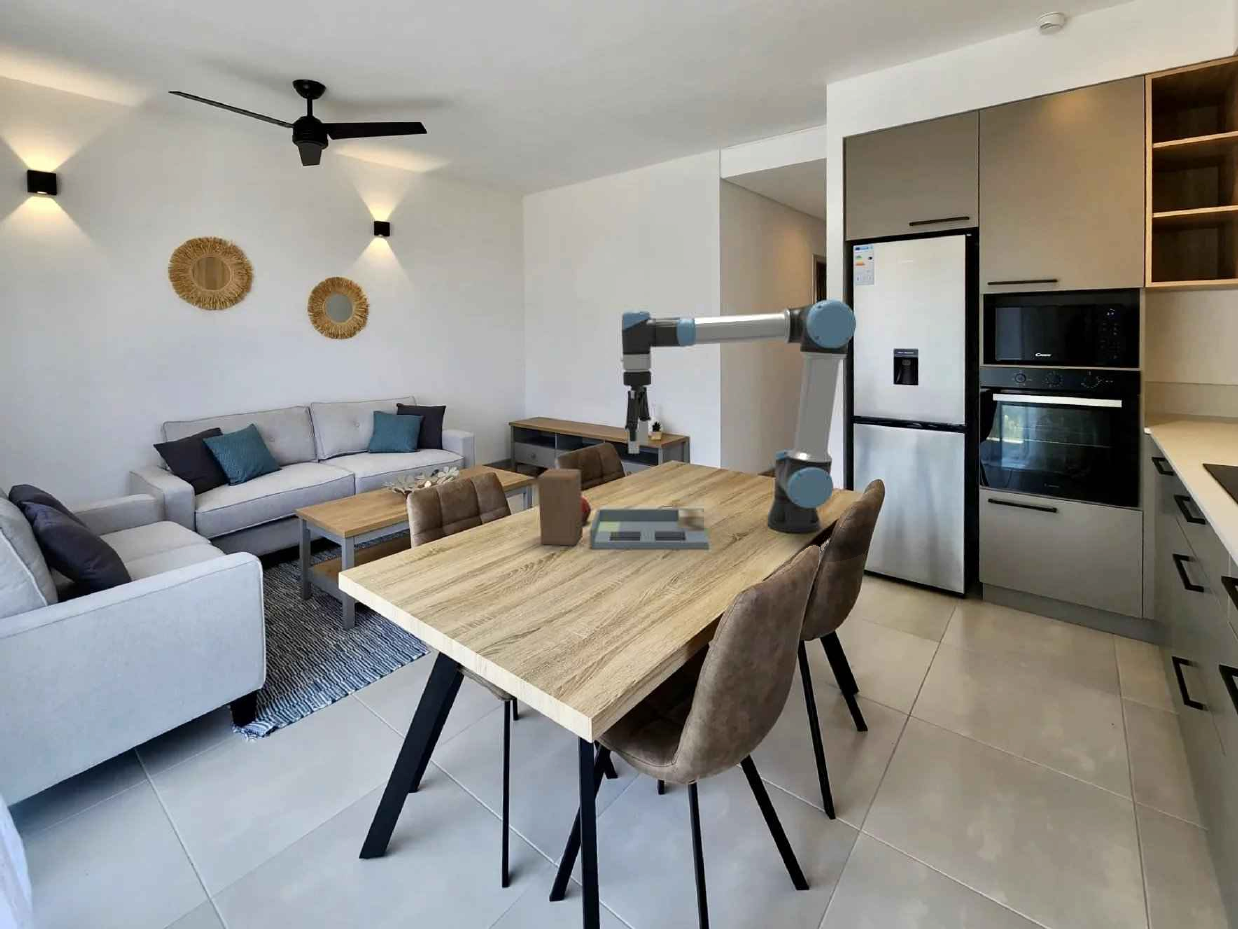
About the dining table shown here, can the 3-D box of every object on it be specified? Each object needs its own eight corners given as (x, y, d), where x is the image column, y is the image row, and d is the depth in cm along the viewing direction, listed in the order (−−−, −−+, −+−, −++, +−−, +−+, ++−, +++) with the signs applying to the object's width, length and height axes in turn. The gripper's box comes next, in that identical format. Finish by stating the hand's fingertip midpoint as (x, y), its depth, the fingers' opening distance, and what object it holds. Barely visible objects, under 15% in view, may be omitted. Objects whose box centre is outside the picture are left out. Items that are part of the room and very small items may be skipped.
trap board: (702, 526, 182) (703, 508, 181) (708, 549, 162) (708, 529, 161) (597, 526, 184) (597, 508, 183) (590, 548, 164) (590, 529, 163)
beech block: (702, 522, 179) (702, 509, 178) (703, 530, 172) (703, 516, 171) (678, 522, 179) (678, 509, 178) (679, 530, 172) (679, 516, 172)
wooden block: (574, 546, 166) (571, 476, 162) (540, 545, 168) (536, 475, 164) (583, 535, 176) (581, 468, 172) (550, 533, 178) (547, 467, 174)
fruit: (586, 517, 193) (585, 487, 191) (594, 525, 185) (593, 494, 183) (558, 520, 191) (557, 489, 189) (565, 529, 182) (564, 497, 180)
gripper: (633, 368, 174) (635, 440, 178) (612, 373, 150) (615, 457, 155) (658, 367, 172) (660, 440, 177) (641, 373, 148) (643, 457, 153)
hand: (639, 448), depth 166 cm, fingers open, 13 cm apart
